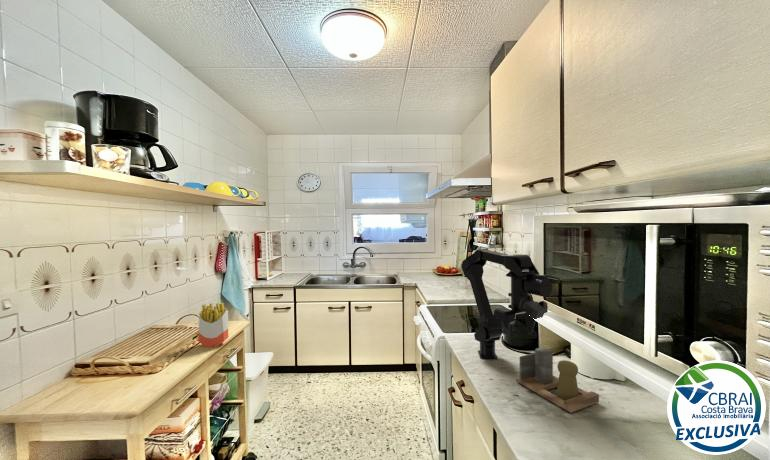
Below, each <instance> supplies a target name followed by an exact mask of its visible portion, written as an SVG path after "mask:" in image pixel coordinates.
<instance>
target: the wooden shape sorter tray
mask: <svg viewBox="0 0 770 460" xmlns="http://www.w3.org/2000/svg"><path fill="white" fill-rule="evenodd" d="M553 353H554V352H553V350H551V349H549V348H546V347H543V346H542V347H537V348H535V350H534V352H533V353H529V354H525V355H521V356H519V376H517V377H515V381H516V382H517V383H519V385H520V384H521V385H523V387H526V388H527V389H529V390H530V391H533V392H534V393H536V394H538V395H539V396H542V397H543V398H545V399H546V400H548V401H550V402H552V403H553V404H555V405H556V406H558V407H560V408H562V409H564V410H565V411H566V412H569V413H571V414H572V413H574V412H577V411H580V410H582V409H584V408H587V407H590V406H592V405H595V404H598V403H600V394H598V393H596V392H595V391H592V390H591V391H586V390H584V389H581V388H579V387H578V392H579V396H576V397H574V398H571V399H568V400H563V399H561V398H559V397H557V396H556V395H555V394H554V393H552V392H550V391H549V390H552V389H555V388H556V389H557V387H558V380H559V377H557V376H554V373H553V371H554V366H553V363H554V358H553V356H554V355H553Z"/></svg>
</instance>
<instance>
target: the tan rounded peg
mask: <svg viewBox="0 0 770 460" xmlns="http://www.w3.org/2000/svg"><path fill="white" fill-rule="evenodd" d="M556 365H557V370H558V372H559V375H558V378H559V380H558V387H556V396H557V397H559V398H561V399H563V400H568V399H571V398H574V397H576V396H579V392H578V388H579V387H578V380H577V375H578V373H579V368H578V366H577V364H576V363H575V362H573V361H570V360H567V359H565V360H563V359H562V360H560V361H558V362H557V364H556Z"/></svg>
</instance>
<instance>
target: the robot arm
mask: <svg viewBox="0 0 770 460" xmlns="http://www.w3.org/2000/svg"><path fill="white" fill-rule="evenodd" d="M487 262H490V263H494V264H498V265H501V266H503V267H504V269H506V270H508V271H509V272H507V273H506V274H505V276H506V277H507V278H508V277H509V278H510V292H509V293H508V294H507V295H508V297H510V304H508V306H507V307H508V308H506V307H504V306H503V307H496V308H495V309H494V310H493V311H492V307H491V303H490V301H489V297H488V294H487V291H486V286H485V284H484V279H483V275H484V266H486V264H487ZM460 268H461V271H462V273H463V275H464V277H466V279H467V280H468V281H469V283H470V286H471V290H472V293H473V297H474V300H475V303H476V308H477V310H478V314H479V318H478V319H479V320H478V323H477V325H478V326H477V327H478V330H477V331H476V332H474V334H473V336H474V337H473V338H474V340H475V341H477V342H479V350H477V353H478V356H479V358H480V359H489V360H498V359H499V358H498V355H497V354H496V341H500V340H501V337H502V334H503V333H504V331H505V333H506V334H507V335H506V336H507V337H508V338H509V339H512V338H513V331H514V330H513V329H514V327H513V326H514V324H515V322H517V320H515V318H516V317H517V315H518V316H519V315H524V320H525V326H526V330H527V334H528V335H532V334H533V331H534V329H535V326H536V323H537V321H535V320H534V319H537V318H539V319H541V318H543V317H544V316H545V314H544V313H546V314H547V313H548V309H549V308H548V302H546V300H541V301H535V300H534V299H533V298H534V297H533V295H534V296H539V297H543V298H548V297H550V295H551V294H552V291H553V285H552V282H551V281H550V279H548V275H546V274H540V272H539V271H538V269H537V268H536V266H535V264H534V262H533V261H532V259H531V256H530V255H528V254H509V253H508V254H507V253H503V252H498V251H494V250H489V249H487V248H478V249H476V250H475V251H474V252H473V253H471V254H469V256H467V257H466V258H465V259H463V260H462V262H461V265H460ZM529 315H530V316H529ZM540 317H541V318H540ZM533 318H534V319H533Z"/></svg>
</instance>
